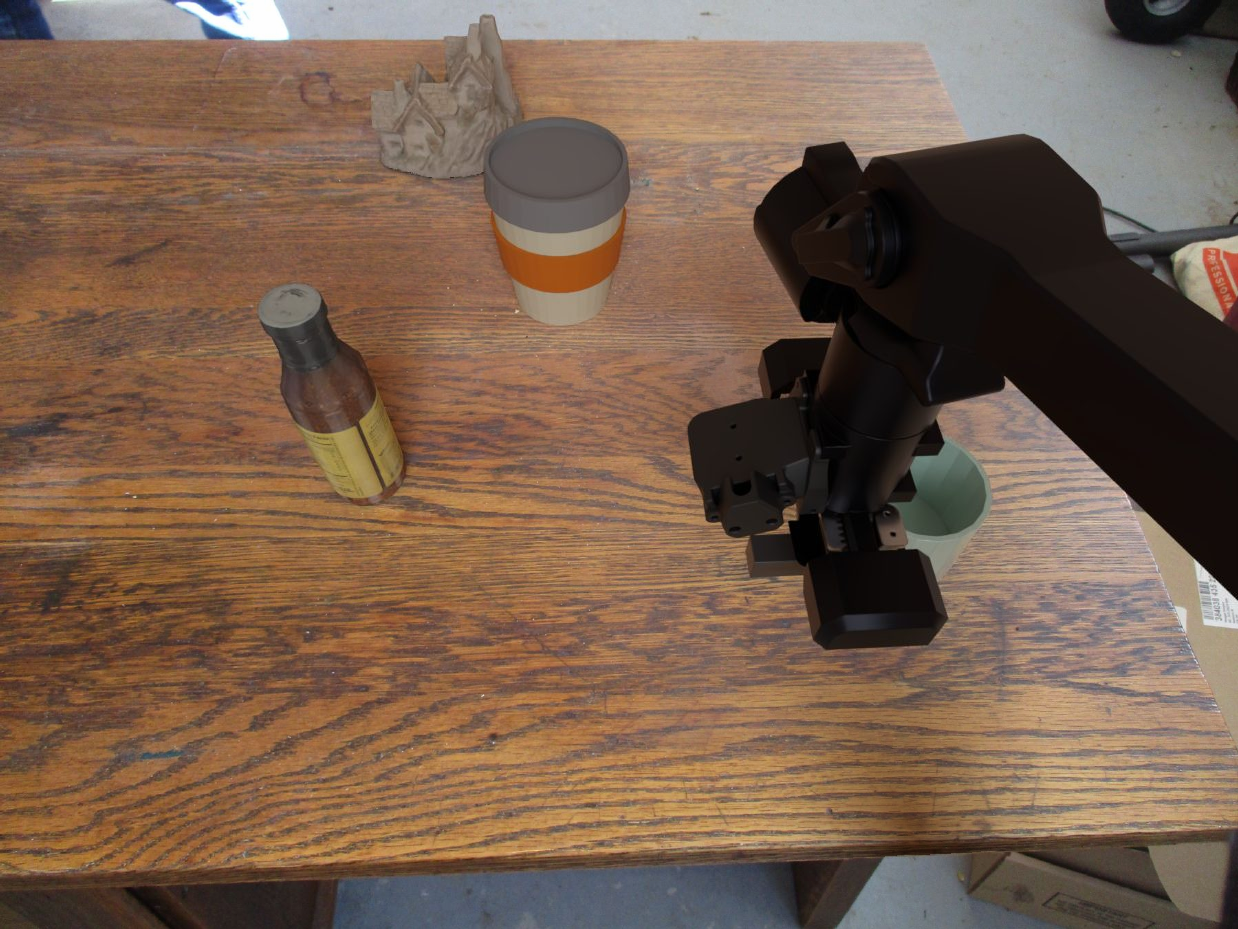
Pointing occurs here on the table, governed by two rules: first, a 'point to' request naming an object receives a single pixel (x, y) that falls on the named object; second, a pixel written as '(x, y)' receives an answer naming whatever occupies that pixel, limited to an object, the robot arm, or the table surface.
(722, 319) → the table surface
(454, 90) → the ceramic cottage
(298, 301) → the sauce bottle
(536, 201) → the reusable coffee cup
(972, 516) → the cup
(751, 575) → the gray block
